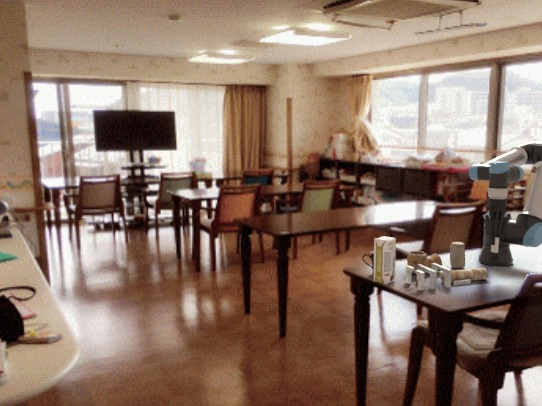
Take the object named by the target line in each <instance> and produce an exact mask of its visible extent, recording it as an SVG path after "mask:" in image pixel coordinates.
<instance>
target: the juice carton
mask: <svg viewBox="0 0 542 406" xmlns="http://www.w3.org/2000/svg"><path fill="white" fill-rule="evenodd" d="M373 240H374V242H373V243H374V244H373V251H374V274H373V282H374V283H378V284H382V285H388V284H391V283H393V282H395V279H396V256H397V254H396V253H397V252H396V251H397V245H396V244H397V242H396V240H397V239H396V237H391V236H385V235H383V236H380V237H377V238H376V237H375V238H374V239H373Z"/></svg>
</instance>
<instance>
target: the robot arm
mask: <svg viewBox="0 0 542 406" xmlns="http://www.w3.org/2000/svg"><path fill="white" fill-rule="evenodd" d="M523 165H531V166H535V168H536V169H537V170H536V171H535V174H534V177H533V181H532V183H531V186H530V188H529V191H528V195H527V198H526V201H525V203H524V206H523V209H522V212H520V213H517V216H516V218H514V219H513V218H512V217H513V216H511V215H512V213H508V212H507V206H508V199H507V198H508V193H509V192H508V191H509V184H512V183H513V184H515V183H518V182H520V181H522V180H523V179H524V175H525V170H524V168H523V167H522V166H523ZM468 176H469V178H470V179H471V180H472V181H477V182H478V181H479V182H488V191H487V192H488V193H487V197H488V198H487V208H488V209H487V212H486V213H485V214H484V213H483V214H482V215H481V216H482V218H483V223H484V225H483V244H482V245H483V246H482V248H481V251H480V254H479V255H478V262H479V263H481V264H485V265H490V266H494V267H495V266H496V267H498V266H499V267H508V266H512V265H513V264H514V259H513V255H512V252H511V248H510V246H511V245H517V246H521V247H526V248H528V247H529V248H538V247H540V246H541V245H542V140H541V141H539V140H533V141H528V142H524V143H521V144H519V145H516V146H514V147H512V148H511V149H510V150H509V151H508V152H505V153H504V154H502V155H499V156H496V157H495V158H492V159H491V160H489V161H486V162H484V163H481V164H480V163H474V164H471V165H470V167H469V169H468ZM510 244H511V245H510Z"/></svg>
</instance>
